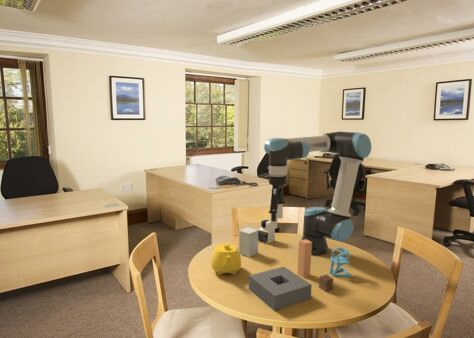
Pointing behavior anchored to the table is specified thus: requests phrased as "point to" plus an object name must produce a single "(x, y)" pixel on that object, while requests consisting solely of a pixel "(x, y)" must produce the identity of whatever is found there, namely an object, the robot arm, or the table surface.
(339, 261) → the blue tall openwork piece
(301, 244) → the tall pin
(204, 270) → the table surface
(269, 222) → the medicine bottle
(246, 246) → the supplement box
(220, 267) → the teapot
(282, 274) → the hole block
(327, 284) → the short pin
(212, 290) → the table surface
